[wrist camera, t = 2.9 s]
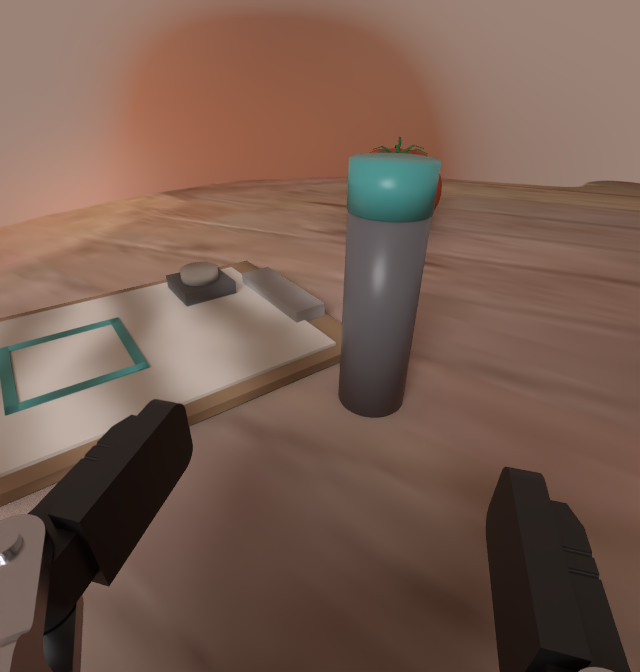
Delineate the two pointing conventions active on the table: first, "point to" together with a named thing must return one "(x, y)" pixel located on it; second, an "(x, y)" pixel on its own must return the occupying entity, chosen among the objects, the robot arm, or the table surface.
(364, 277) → the marker
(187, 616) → the table surface
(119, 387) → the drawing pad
